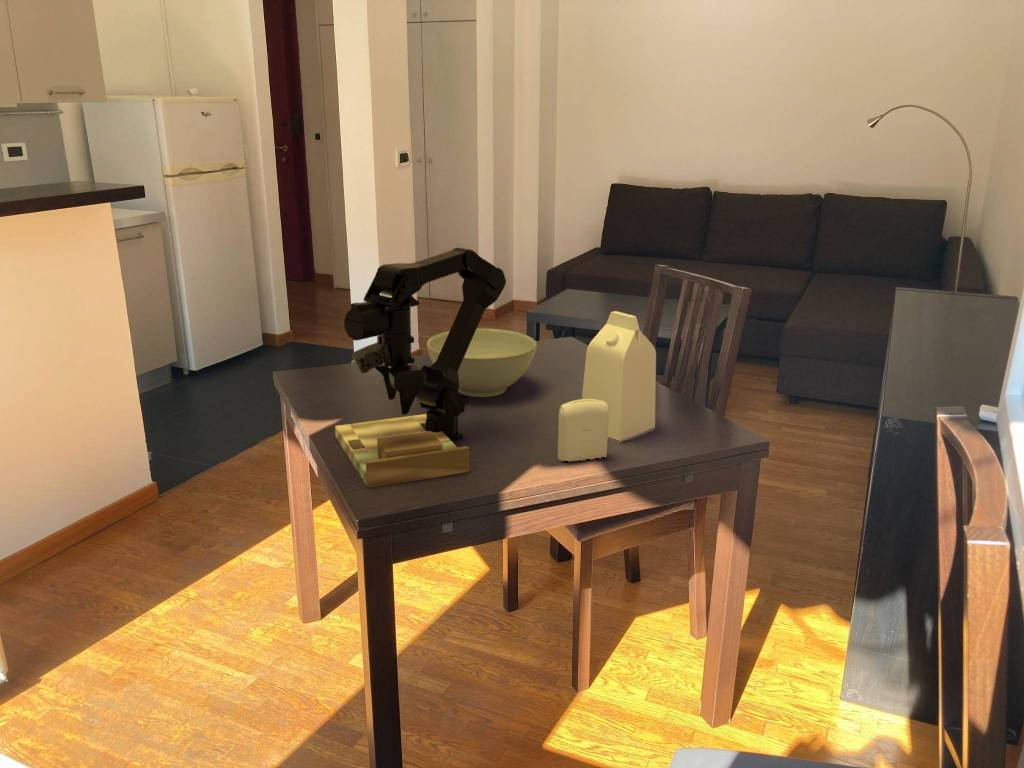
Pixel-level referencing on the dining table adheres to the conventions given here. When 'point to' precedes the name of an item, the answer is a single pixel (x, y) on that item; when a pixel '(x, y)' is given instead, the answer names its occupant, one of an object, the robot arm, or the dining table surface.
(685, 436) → the dining table surface
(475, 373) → the decorative bowl
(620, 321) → the milk
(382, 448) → the walnut block
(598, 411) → the photo printer
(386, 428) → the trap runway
